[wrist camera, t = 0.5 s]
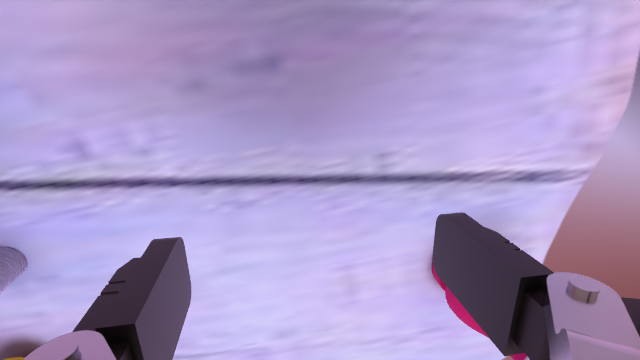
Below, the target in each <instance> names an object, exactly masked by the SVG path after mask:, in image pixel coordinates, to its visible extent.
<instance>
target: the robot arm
mask: <svg viewBox="0 0 640 360" xmlns="http://www.w3.org/2000/svg"><path fill="white" fill-rule="evenodd" d="M433 266H434V269H435V272H436V274H437V275H438V277H439V278H440V279H441V280H442V282H443V283H444V284H445V285H446V286H447V288H448V289H449V290H450V291H451V292H452V294H453V295H454V296H455V297H456V298H457V300H458V301H459V302H460V303H461V305H462V306H463V307H464V308H465V309H466V311H467V312H468V313H469V314H470V315H471V317H472V318H473V319H474V320H475V321H476V323H477V324H478V325H479V326H480V327H481V329H482V330H483V331H484V332H485V333H486V335H487V336H488V337H489V338H490V339H491V341H492V342H493V343H494V344H495V345H496V347H497V348H498V349H499V350H500V351H501V353H502V354H503V355H504V356H509V355H515V354H522V353H525V354H526V355H527V357H528V359H527V360H640V299H632V298H621V297H620V296H619V295H618V294H617V293H616V292H615V291H614V290H613V289H611V288H610V287H608V286H607V285H605V284H603V283H601V282H599V281H597V280H595V279H592V278H589V277H586V276H583V275H579V274H575V273H567V272H558V273H554V272H552V271H550V270H549V269H548V268H547V267H545V266H544V265H542V264H541V263H540V262H538V261H537V260H535V259H534V258H533V257H531V256H530V255H528V254H527V253H525V252H524V251H523V250H521V251H520V248H518V247H517V246H516V245H514V244H513V243H510V241H509V240H507V239H506V238H504V237H503V236H501V235H500V234H499V233H497V232H495V231H493V230H490V229H488V228H485V227H483V226H482V225H480V224H479V223H478V222H476V221H475V220H474V219H472V218H471V217H469V216H468V215H467V214H465V213H452V214H441V215H439V216H438V218H437V221H436V228H435V238H434V248H433ZM190 300H191V281H190V275H189V269H188V264H187V258H186V252H185V246H184V242H183V239H182V238H181V237H176V238H164V239H154V240H152V241H151V243H150V244H149V246H148V248H147V249H146V251H145V252H144V254H143V255H142V257H141V258H133V259H132V260H130V261H129V262H128V263H126V264H125V265H123V266H122V267H121V268H119V269H118V270H117V271H116V273H115V274H114V275H113V277H112V278H111V280H110V281H109V284H108V285H106V286H105V288H104V289H103V291H102V292H101V296H98V297H97V299H96V300H95V302H94V303H93V304H92V306H91V307H90V308H89V310H88V311H87V313H86V314H85V315H84V317H83V318H82V319H81V321H80V322H79V324H78V325H77V326H76V328H75V329H74V330H73V332H72V333H68V334H65V335H62V336H59V337H57V338H55V339H53V340H51V341H49V342H47V343H45V344H43V345H42V346H40V347H38V348H37V349H35V350H34V351H33V352H31V353H30V354H29V355H28V356H27V357H25V358H24V359H23V360H172V359H173V356H174V352H175V349H176V346H177V343H178V340H179V337H180V333H181V330H182V327H183V324H184V321H185V318H186V314H187V311H188V308H189V305H190Z"/></svg>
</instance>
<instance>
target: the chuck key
mask: <svg viewBox="0 0 640 360" xmlns="http://www.w3.org/2000/svg"><path fill="white" fill-rule="evenodd" d="M26 267H27V260H26V258H25V256H24V255H23V254H22V253H21V252H19V251H18V250H16V249H13V248H10V247H0V293H1V292H2V291H3V290H4V289H5V288H6V287H7V286H8V285H9V284H10V283H11V282H13V281H14V280H15V279H16V278H17V277H18V276H19V275H20V274H21V273H22V272H23V271H24V270H25V269H26Z"/></svg>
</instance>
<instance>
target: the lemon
mask: <svg viewBox="0 0 640 360" xmlns="http://www.w3.org/2000/svg"><path fill="white" fill-rule="evenodd" d="M24 358H25V357H12V358H7V359H3V360H23V359H24Z"/></svg>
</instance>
